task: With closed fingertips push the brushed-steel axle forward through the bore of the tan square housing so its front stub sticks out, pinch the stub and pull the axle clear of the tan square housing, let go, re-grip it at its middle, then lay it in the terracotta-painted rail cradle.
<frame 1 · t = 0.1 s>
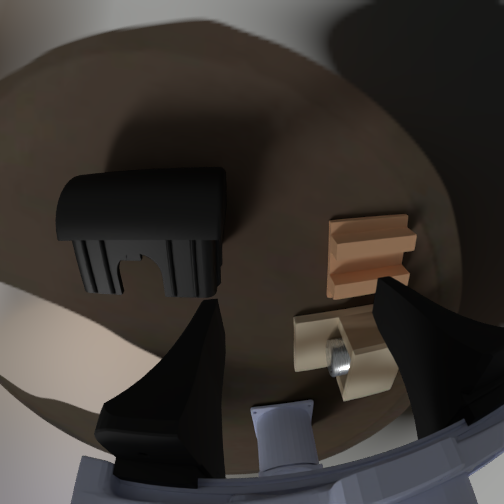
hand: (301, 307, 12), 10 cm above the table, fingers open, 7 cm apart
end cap: (160, 206, 20), on the table
axle: (378, 348, 24), point 3 cm above the table, touching tan square housing
cradle: (366, 255, 23), on the table
tan square housing: (355, 332, 27), on the table
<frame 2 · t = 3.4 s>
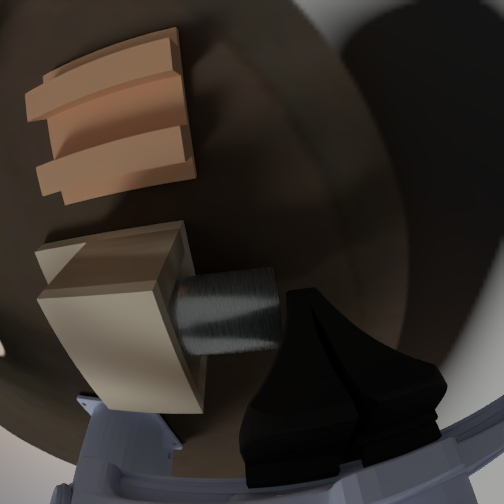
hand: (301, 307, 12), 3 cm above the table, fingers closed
axle: (166, 318, 12), point 3 cm above the table, touching gripper
cradle: (113, 117, 11), on the table
tan square housing: (153, 286, 15), on the table
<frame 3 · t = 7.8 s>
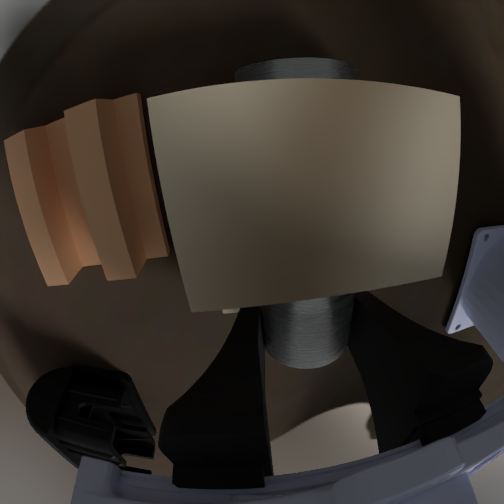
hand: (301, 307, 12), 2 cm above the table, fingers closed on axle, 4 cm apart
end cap: (106, 398, 19), on the table
axle: (306, 224, 9), point 3 cm above the table, touching tan square housing, gripper
cradle: (84, 190, 11), on the table
tan square housing: (288, 157, 11), on the table
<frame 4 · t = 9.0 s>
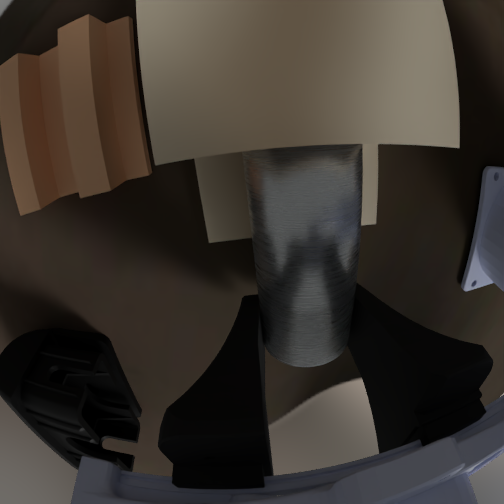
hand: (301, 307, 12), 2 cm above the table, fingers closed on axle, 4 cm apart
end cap: (86, 371, 17), on the table
axle: (306, 221, 9), point 3 cm above the table, touching gripper
cradle: (68, 115, 9), on the table
tan square housing: (278, 69, 9), on the table
when the fingers open (2 cm above the table, at t = 10.1 s): axle stays where it is, resting on tan square housing.
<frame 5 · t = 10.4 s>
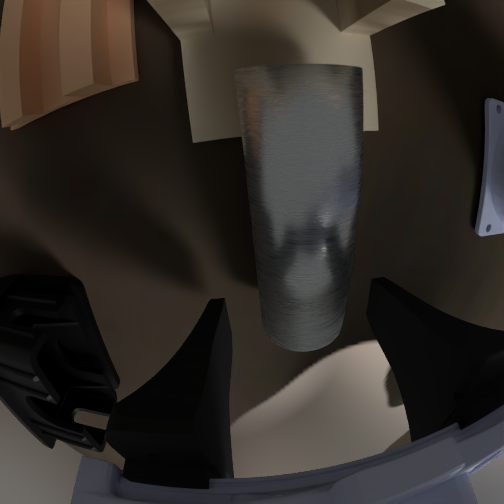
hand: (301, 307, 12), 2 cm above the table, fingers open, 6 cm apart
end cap: (60, 330, 15), on the table
axle: (304, 218, 9), point 2 cm above the table, tilted 8°, touching tan square housing
cradle: (64, 37, 7), on the table
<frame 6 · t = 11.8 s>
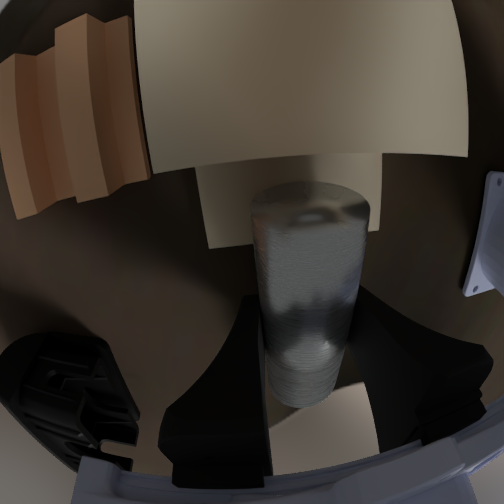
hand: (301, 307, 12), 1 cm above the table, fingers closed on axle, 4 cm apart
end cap: (85, 374, 17), on the table
axle: (306, 317, 11), point 2 cm above the table, tilted 8°, touching tan square housing, gripper
cradle: (66, 117, 9), on the table
tan square housing: (281, 71, 9), on the table
when the fingers open (3 cm above the table, at t = 15.3 s): axle stays where it is, resting on cradle.
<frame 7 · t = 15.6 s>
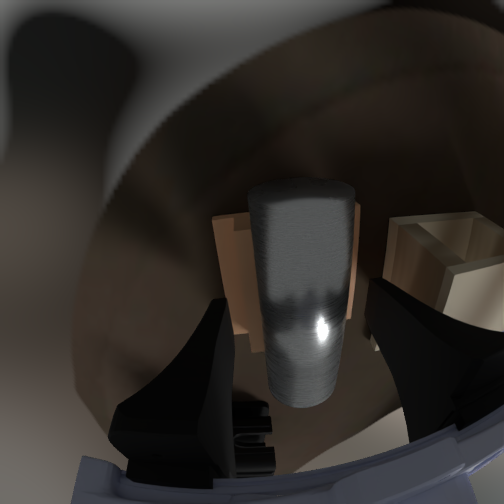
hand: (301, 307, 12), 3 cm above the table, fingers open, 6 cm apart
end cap: (226, 423, 22), on the table
axle: (303, 308, 12), point 4 cm above the table, tilted 9°, touching cradle
cradle: (290, 271, 15), on the table
tan square housing: (431, 252, 15), on the table
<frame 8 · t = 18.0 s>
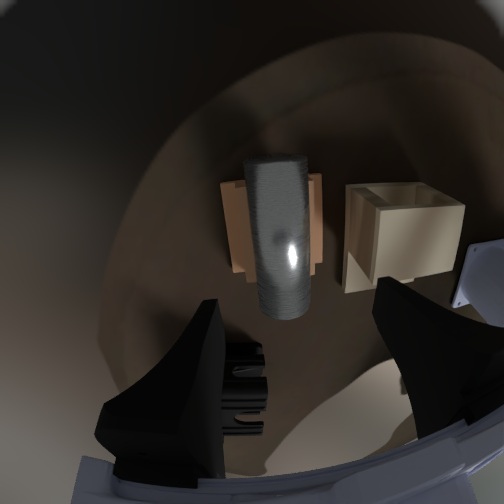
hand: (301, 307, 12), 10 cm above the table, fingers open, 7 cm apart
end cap: (226, 369, 29), on the table
axle: (281, 239, 18), point 4 cm above the table, tilted 9°, touching cradle
cradle: (274, 223, 21), on the table
tan square housing: (384, 212, 21), on the table
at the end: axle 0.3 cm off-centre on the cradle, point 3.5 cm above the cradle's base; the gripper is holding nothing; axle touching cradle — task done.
